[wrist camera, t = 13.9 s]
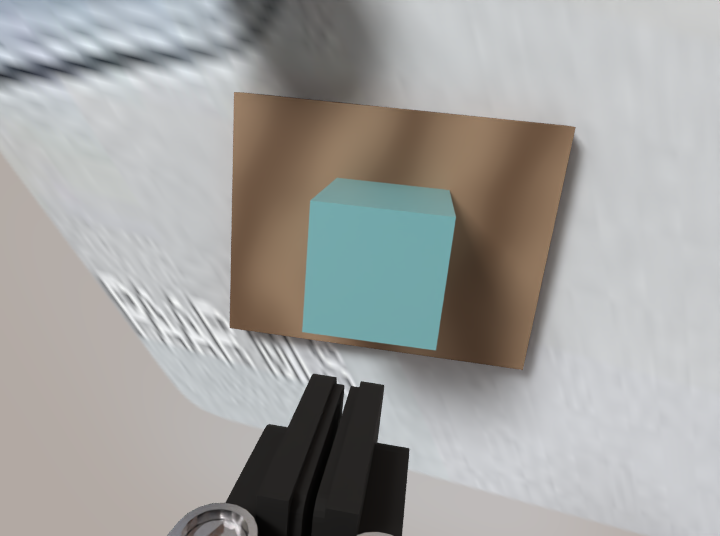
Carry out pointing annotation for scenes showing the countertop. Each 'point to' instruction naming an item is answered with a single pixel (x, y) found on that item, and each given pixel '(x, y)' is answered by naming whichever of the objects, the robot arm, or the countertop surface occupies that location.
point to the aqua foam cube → (378, 262)
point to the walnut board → (404, 167)
